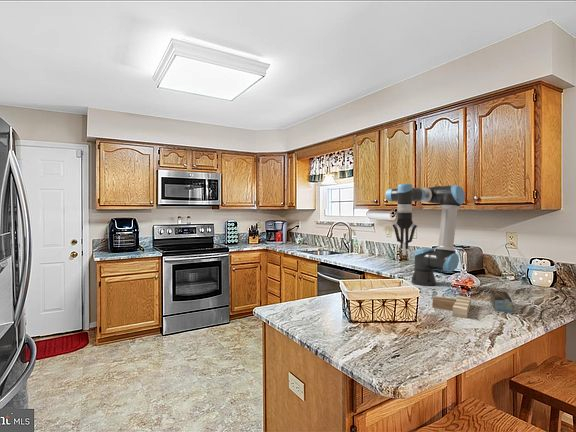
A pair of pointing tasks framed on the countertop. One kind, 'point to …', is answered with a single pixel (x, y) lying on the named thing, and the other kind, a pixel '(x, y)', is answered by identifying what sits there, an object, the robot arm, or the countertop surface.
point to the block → (443, 303)
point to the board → (461, 306)
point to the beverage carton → (501, 302)
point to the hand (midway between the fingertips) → (404, 254)
